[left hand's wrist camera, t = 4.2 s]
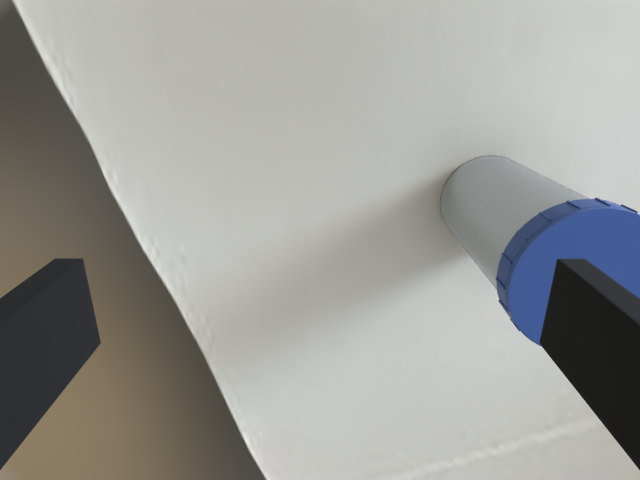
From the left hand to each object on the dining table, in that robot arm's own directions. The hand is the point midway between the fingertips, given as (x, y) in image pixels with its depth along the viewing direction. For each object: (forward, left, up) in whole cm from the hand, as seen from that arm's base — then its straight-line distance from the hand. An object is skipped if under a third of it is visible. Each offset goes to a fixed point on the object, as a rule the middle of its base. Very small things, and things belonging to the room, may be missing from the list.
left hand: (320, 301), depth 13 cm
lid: (+5, +15, -12) cm, 20 cm away
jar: (+5, +15, -28) cm, 32 cm away
